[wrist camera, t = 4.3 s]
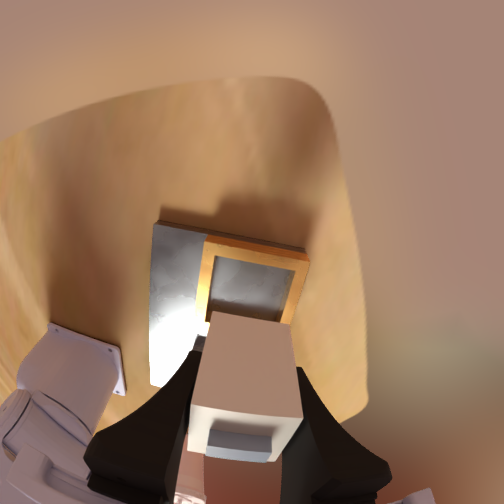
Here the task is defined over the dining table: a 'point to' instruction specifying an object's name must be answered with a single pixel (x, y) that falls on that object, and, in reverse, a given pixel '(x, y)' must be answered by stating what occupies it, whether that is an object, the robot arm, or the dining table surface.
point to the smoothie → (190, 478)
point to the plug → (245, 390)
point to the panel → (214, 287)
